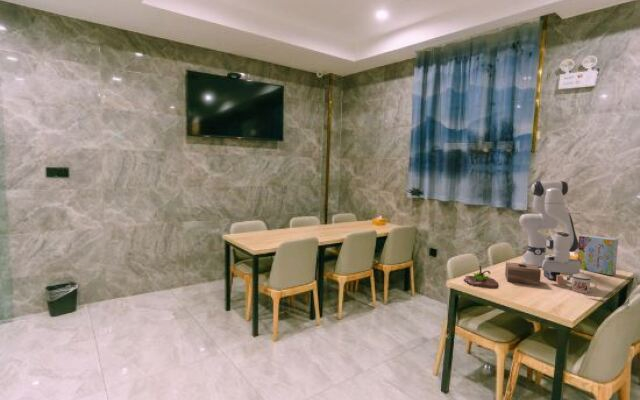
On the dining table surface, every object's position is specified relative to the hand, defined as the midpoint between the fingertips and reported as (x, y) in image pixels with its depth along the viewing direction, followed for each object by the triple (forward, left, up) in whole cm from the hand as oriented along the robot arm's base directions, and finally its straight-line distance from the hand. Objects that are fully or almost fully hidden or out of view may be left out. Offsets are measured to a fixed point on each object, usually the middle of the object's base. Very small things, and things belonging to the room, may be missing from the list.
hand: (559, 279), depth 228 cm
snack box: (-48, +33, -3) cm, 59 cm away
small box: (-12, -2, -3) cm, 13 cm away
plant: (+22, -47, -4) cm, 52 cm away
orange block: (0, 0, -3) cm, 3 cm away
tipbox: (+5, -22, -3) cm, 23 cm away
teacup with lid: (+13, +9, -3) cm, 16 cm away
